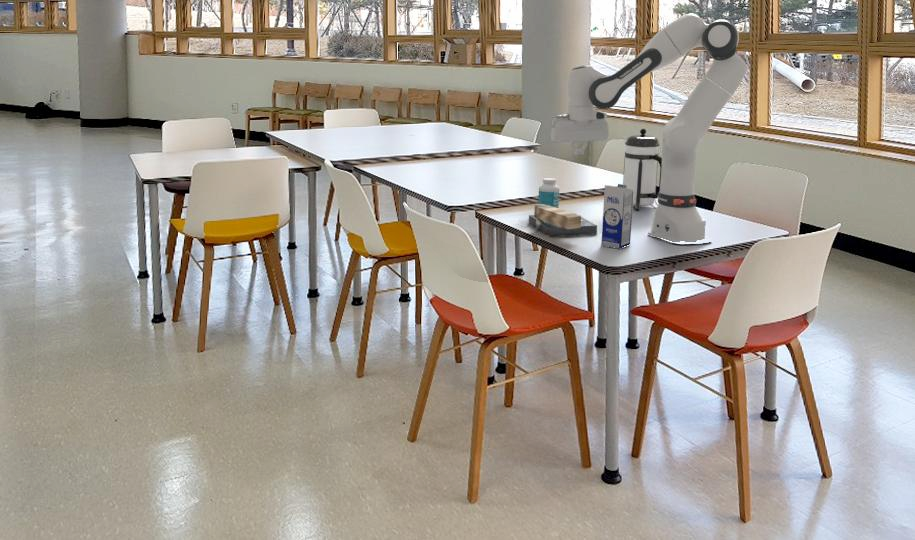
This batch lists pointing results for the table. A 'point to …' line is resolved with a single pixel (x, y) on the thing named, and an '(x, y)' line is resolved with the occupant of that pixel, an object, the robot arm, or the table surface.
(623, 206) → the milk carton
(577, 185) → the table surface
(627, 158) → the coffee press
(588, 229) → the panel
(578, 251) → the table surface
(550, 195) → the pill bottle
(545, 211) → the tan bar
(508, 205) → the table surface
